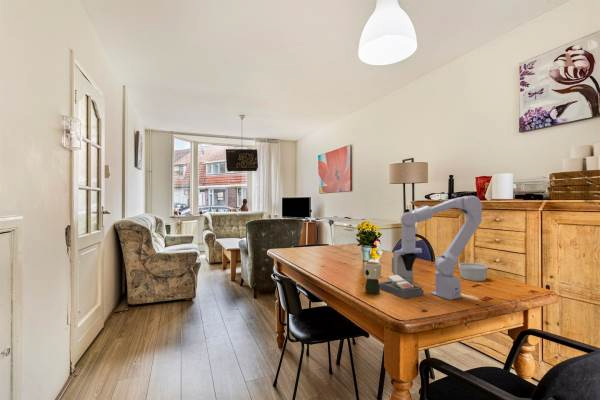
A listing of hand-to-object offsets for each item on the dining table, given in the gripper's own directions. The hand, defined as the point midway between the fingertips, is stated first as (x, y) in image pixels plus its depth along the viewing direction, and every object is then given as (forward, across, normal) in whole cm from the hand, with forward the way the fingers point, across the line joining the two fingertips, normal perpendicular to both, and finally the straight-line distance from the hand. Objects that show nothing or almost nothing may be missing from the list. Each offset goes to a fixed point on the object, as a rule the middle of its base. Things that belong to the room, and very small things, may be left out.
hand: (408, 270), depth 131 cm
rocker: (+6, +2, -3) cm, 7 cm away
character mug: (+10, +14, -7) cm, 19 cm away
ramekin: (+10, -48, -1) cm, 49 cm away
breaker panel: (+10, +2, -3) cm, 10 cm away
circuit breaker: (+10, -11, -14) cm, 21 cm away
